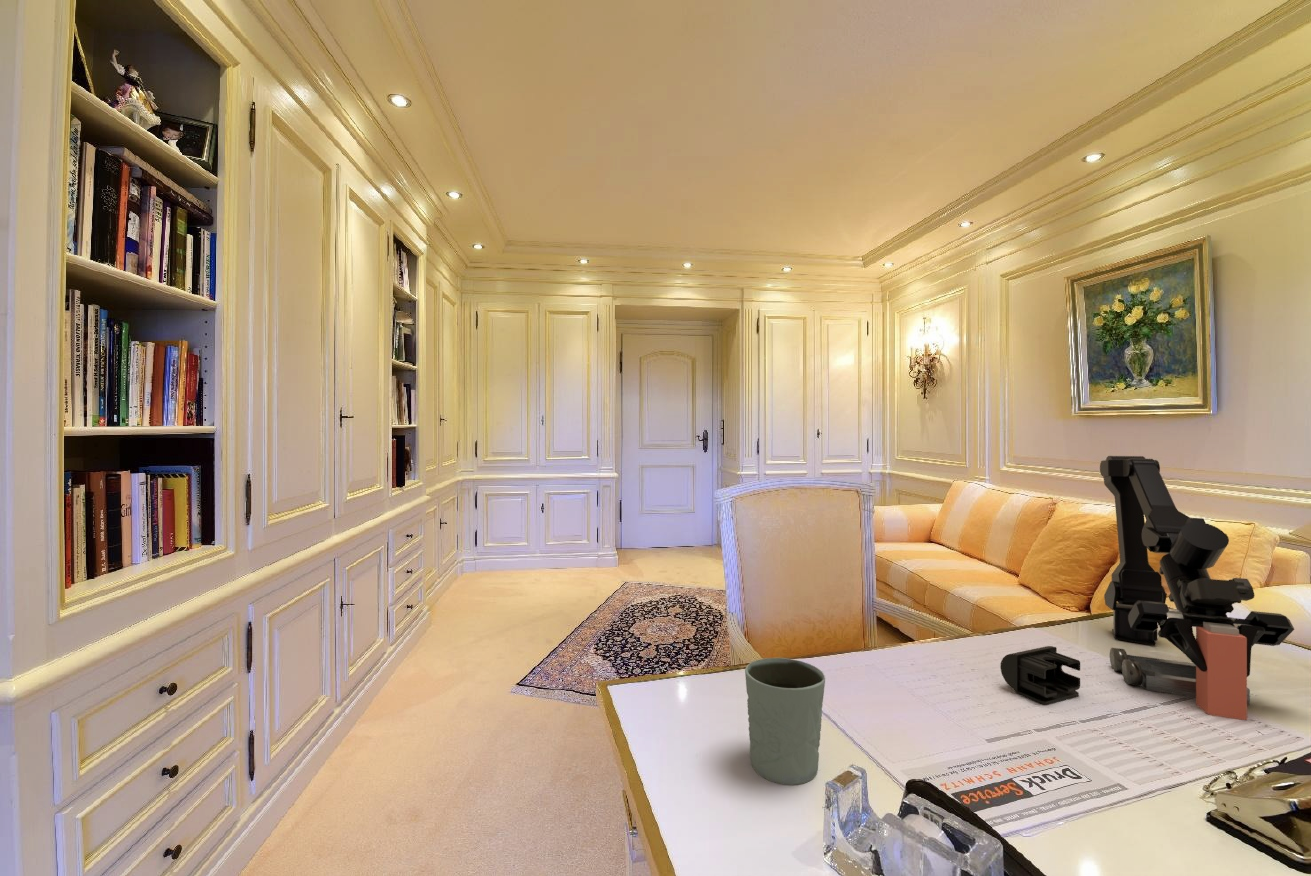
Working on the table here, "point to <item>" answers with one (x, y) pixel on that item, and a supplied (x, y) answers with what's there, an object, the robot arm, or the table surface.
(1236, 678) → the reddish-brown tall block
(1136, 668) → the chassis
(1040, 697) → the end cap
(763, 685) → the grey cup
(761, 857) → the table surface
